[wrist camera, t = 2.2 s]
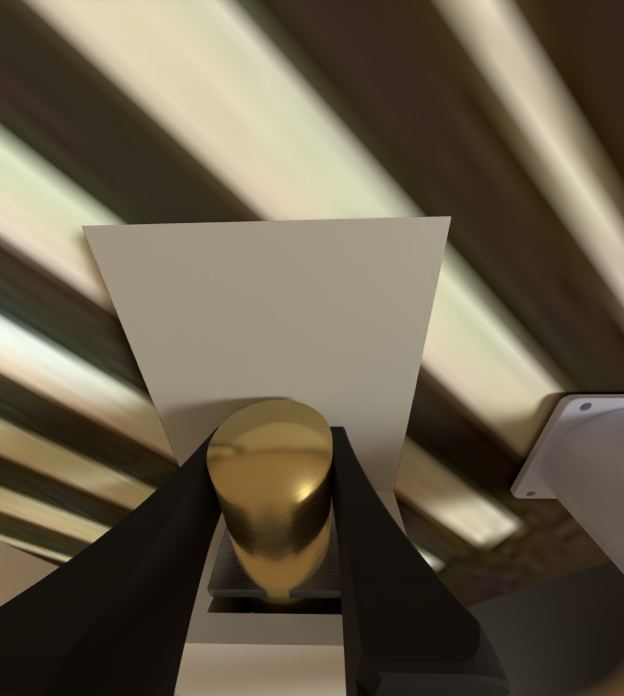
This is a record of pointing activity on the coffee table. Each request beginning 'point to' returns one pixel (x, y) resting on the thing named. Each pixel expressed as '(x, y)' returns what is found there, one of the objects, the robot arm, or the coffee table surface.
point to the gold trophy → (275, 509)
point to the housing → (275, 384)
